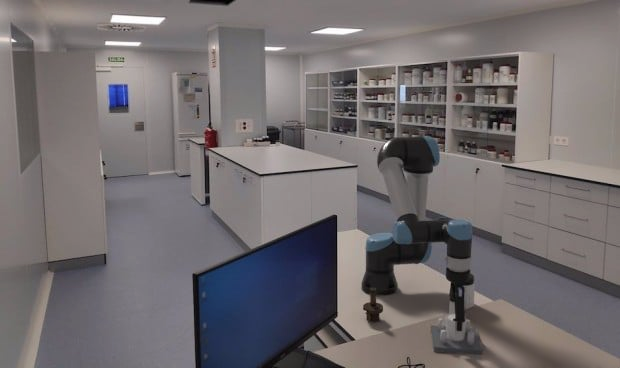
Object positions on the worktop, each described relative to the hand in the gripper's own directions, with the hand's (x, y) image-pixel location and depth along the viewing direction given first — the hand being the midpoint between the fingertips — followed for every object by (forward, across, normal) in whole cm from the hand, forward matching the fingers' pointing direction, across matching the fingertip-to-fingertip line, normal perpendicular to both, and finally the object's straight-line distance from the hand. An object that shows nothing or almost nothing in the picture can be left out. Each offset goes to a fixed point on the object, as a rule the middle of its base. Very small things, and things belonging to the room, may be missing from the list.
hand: (455, 329), depth 166 cm
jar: (+5, -30, +6) cm, 31 cm away
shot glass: (+3, 0, 0) cm, 3 cm away
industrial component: (+5, -13, -27) cm, 30 cm away
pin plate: (+4, 0, 0) cm, 4 cm away
